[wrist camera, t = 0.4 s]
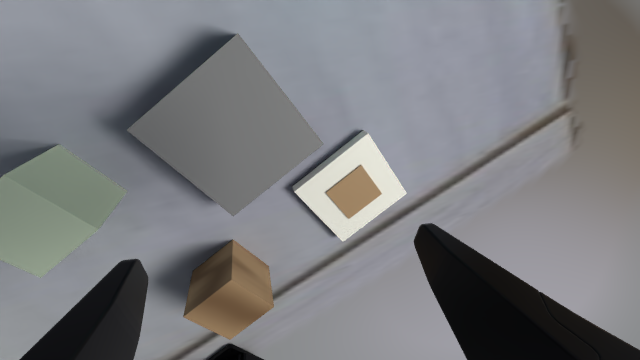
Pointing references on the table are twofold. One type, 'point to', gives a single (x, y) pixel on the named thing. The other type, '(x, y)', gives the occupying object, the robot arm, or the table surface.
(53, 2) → the table surface
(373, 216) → the tile
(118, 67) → the table surface
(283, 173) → the charcoal base block
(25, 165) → the sage cube
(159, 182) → the table surface
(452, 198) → the table surface
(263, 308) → the walnut cube
